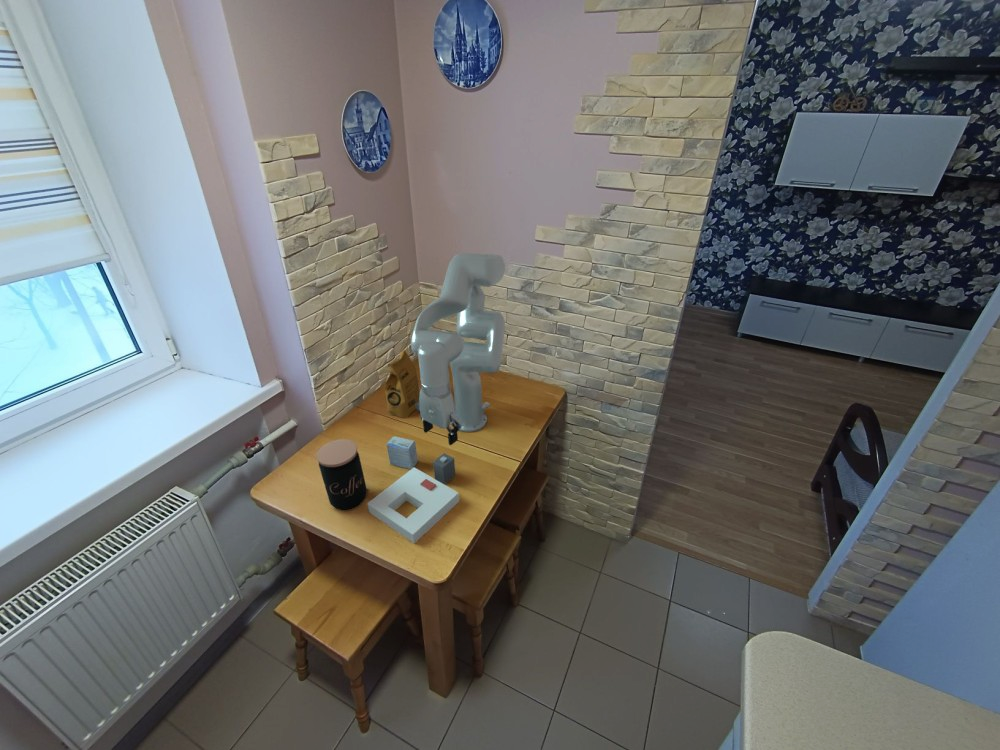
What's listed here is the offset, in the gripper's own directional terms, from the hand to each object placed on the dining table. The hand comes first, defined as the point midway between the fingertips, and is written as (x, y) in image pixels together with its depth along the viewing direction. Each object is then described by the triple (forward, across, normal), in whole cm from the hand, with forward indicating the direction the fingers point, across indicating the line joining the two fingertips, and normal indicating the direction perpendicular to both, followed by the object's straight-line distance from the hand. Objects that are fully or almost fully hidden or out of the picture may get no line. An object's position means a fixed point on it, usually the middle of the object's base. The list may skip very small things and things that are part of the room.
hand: (440, 436), depth 132 cm
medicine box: (+16, -15, -3) cm, 22 cm away
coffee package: (+16, -37, +18) cm, 44 cm away
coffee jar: (+16, -17, -23) cm, 33 cm away
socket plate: (+16, +1, -14) cm, 21 cm away
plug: (+16, 0, 0) cm, 16 cm away
